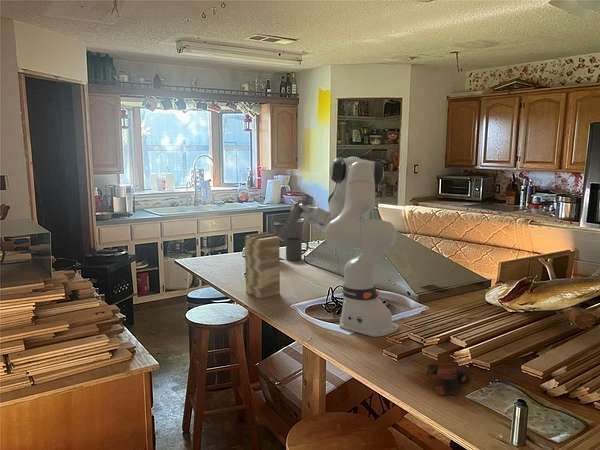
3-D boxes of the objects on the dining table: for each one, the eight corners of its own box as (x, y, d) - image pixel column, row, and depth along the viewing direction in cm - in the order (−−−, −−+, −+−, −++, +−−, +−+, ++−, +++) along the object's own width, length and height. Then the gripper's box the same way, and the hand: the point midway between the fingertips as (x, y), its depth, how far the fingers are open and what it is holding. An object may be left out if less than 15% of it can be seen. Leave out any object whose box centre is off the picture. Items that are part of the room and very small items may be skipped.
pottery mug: (425, 396, 129) (421, 364, 132) (433, 396, 137) (429, 366, 140) (471, 394, 124) (466, 361, 127) (477, 394, 132) (472, 363, 135)
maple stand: (279, 294, 215) (279, 234, 210) (261, 298, 208) (260, 237, 204) (264, 288, 224) (263, 231, 219) (246, 292, 218) (244, 233, 213)
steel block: (307, 203, 224) (303, 200, 223) (284, 241, 219) (280, 237, 217) (303, 203, 227) (299, 199, 225) (280, 240, 221) (276, 236, 219)
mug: (288, 261, 275) (288, 240, 273) (284, 257, 284) (283, 237, 282) (311, 259, 279) (311, 239, 277) (306, 256, 288) (306, 236, 286)
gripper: (305, 209, 240) (285, 197, 231) (333, 213, 224) (314, 200, 215) (300, 220, 239) (280, 208, 230) (328, 225, 223) (308, 213, 214)
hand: (297, 204), depth 223 cm, fingers closed on steel block, 3 cm apart
